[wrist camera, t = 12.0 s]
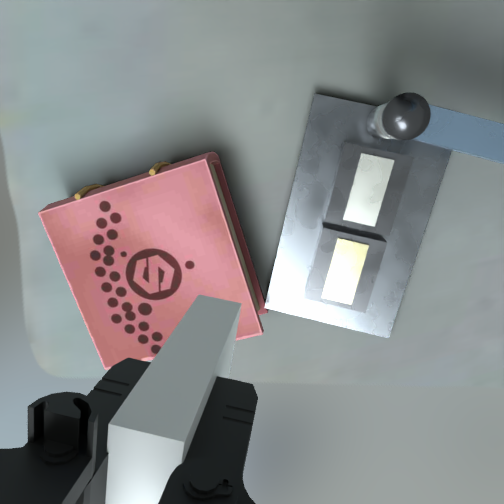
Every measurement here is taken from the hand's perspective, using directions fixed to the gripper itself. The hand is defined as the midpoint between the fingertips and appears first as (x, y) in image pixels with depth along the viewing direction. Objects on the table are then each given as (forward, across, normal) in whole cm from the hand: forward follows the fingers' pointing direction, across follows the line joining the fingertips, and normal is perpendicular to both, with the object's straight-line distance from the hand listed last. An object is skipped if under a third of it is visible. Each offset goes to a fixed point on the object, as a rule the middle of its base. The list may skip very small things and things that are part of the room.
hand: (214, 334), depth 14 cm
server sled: (+22, +7, +1) cm, 23 cm away
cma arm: (+15, +14, +8) cm, 22 cm away
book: (+22, -9, -5) cm, 25 cm away
